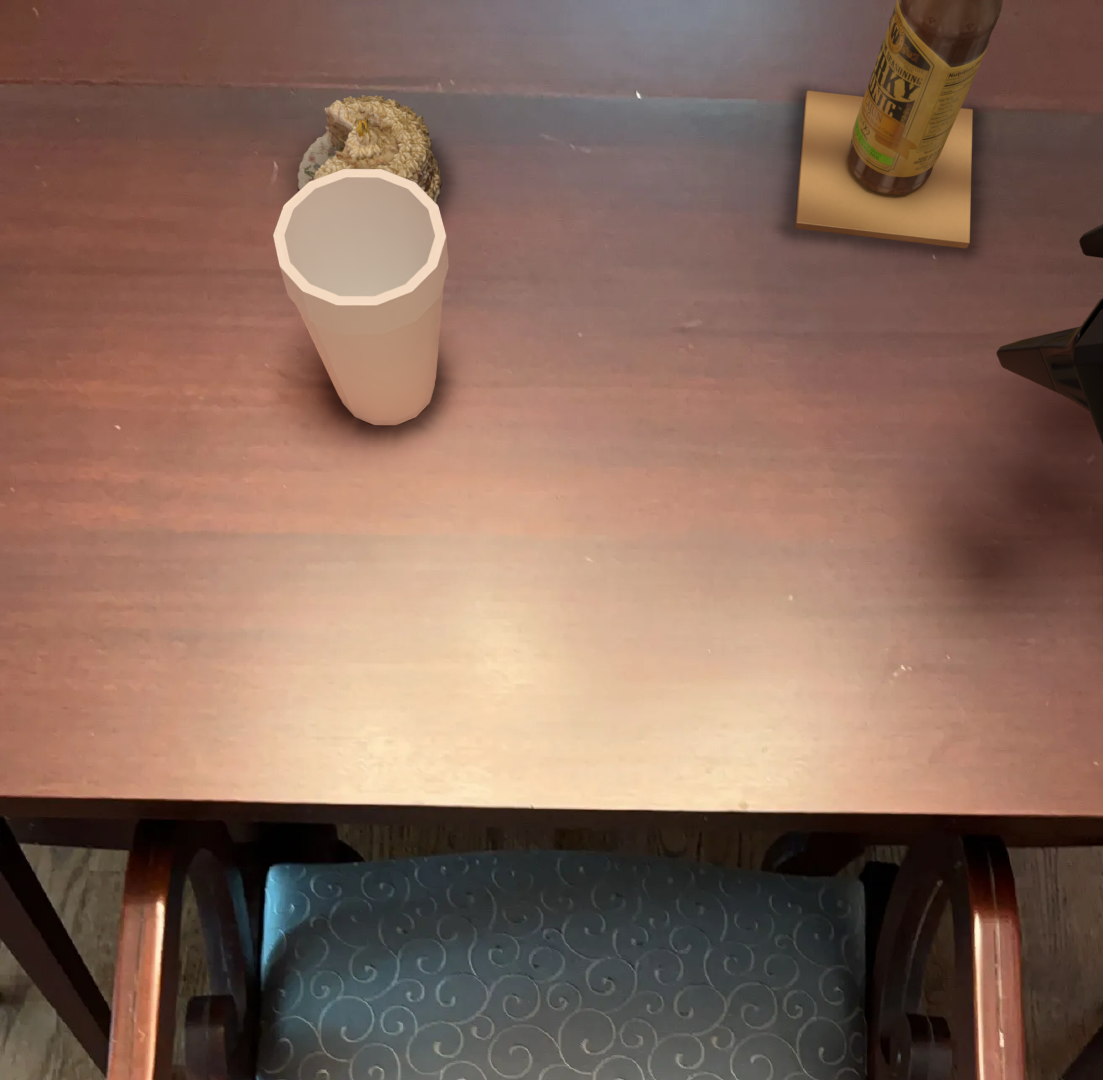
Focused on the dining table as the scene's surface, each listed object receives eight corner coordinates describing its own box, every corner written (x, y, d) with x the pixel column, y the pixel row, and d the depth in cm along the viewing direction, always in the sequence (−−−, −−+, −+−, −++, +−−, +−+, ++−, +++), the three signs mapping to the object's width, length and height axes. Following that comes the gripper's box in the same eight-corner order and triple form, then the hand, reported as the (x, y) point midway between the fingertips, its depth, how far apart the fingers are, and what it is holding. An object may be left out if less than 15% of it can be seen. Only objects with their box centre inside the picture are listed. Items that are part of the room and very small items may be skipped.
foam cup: (482, 357, 78) (474, 205, 65) (419, 466, 75) (398, 330, 63) (355, 305, 79) (323, 146, 66) (288, 411, 76) (242, 266, 64)
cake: (441, 131, 84) (442, 66, 79) (441, 246, 81) (442, 186, 76) (300, 123, 83) (292, 55, 78) (295, 239, 80) (286, 177, 75)
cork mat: (805, 96, 85) (807, 89, 85) (969, 115, 85) (972, 108, 84) (794, 229, 81) (796, 222, 81) (966, 249, 81) (969, 242, 81)
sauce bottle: (832, 139, 83) (922, -162, 64) (915, 124, 84) (1029, -178, 65) (860, 210, 81) (962, -78, 62) (945, 194, 82) (1071, -96, 63)
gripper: (1430, -64, 49) (1078, 52, 61) (1232, 223, 44) (894, 285, 56) (1462, 178, 55) (1137, 239, 67) (1292, 452, 50) (976, 464, 63)
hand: (1041, 300), depth 63 cm, fingers open, 9 cm apart
